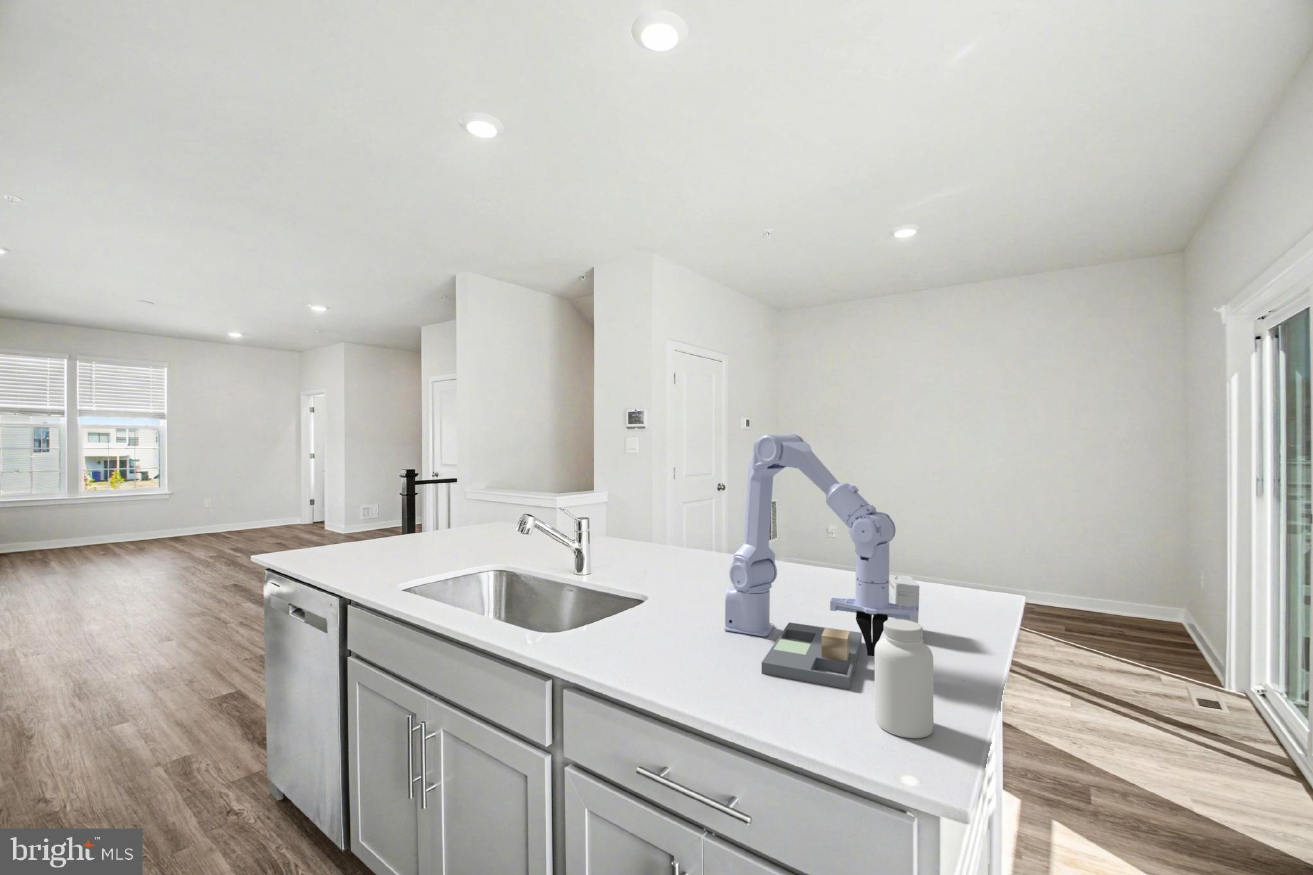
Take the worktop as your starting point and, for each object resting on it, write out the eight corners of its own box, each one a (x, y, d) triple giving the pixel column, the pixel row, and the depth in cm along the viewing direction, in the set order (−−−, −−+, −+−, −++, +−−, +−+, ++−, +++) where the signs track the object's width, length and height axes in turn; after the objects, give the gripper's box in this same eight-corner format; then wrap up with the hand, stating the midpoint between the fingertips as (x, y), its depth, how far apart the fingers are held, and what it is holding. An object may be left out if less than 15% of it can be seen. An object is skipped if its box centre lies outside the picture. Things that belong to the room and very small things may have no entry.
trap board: (761, 673, 101) (761, 662, 101) (788, 631, 123) (788, 622, 123) (849, 689, 94) (849, 677, 94) (861, 642, 116) (861, 632, 116)
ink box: (885, 625, 127) (885, 573, 127) (910, 627, 126) (910, 574, 126) (893, 638, 118) (894, 583, 118) (919, 640, 117) (920, 584, 117)
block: (821, 657, 103) (821, 635, 103) (824, 648, 107) (825, 627, 107) (847, 661, 101) (847, 639, 101) (849, 652, 105) (849, 631, 105)
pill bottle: (864, 713, 86) (865, 616, 86) (914, 711, 87) (915, 615, 87) (890, 741, 78) (891, 634, 78) (945, 739, 79) (945, 633, 79)
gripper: (827, 580, 102) (827, 655, 102) (916, 590, 95) (915, 669, 95) (833, 571, 108) (832, 642, 108) (916, 580, 102) (915, 655, 102)
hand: (871, 654), depth 102 cm, fingers closed
